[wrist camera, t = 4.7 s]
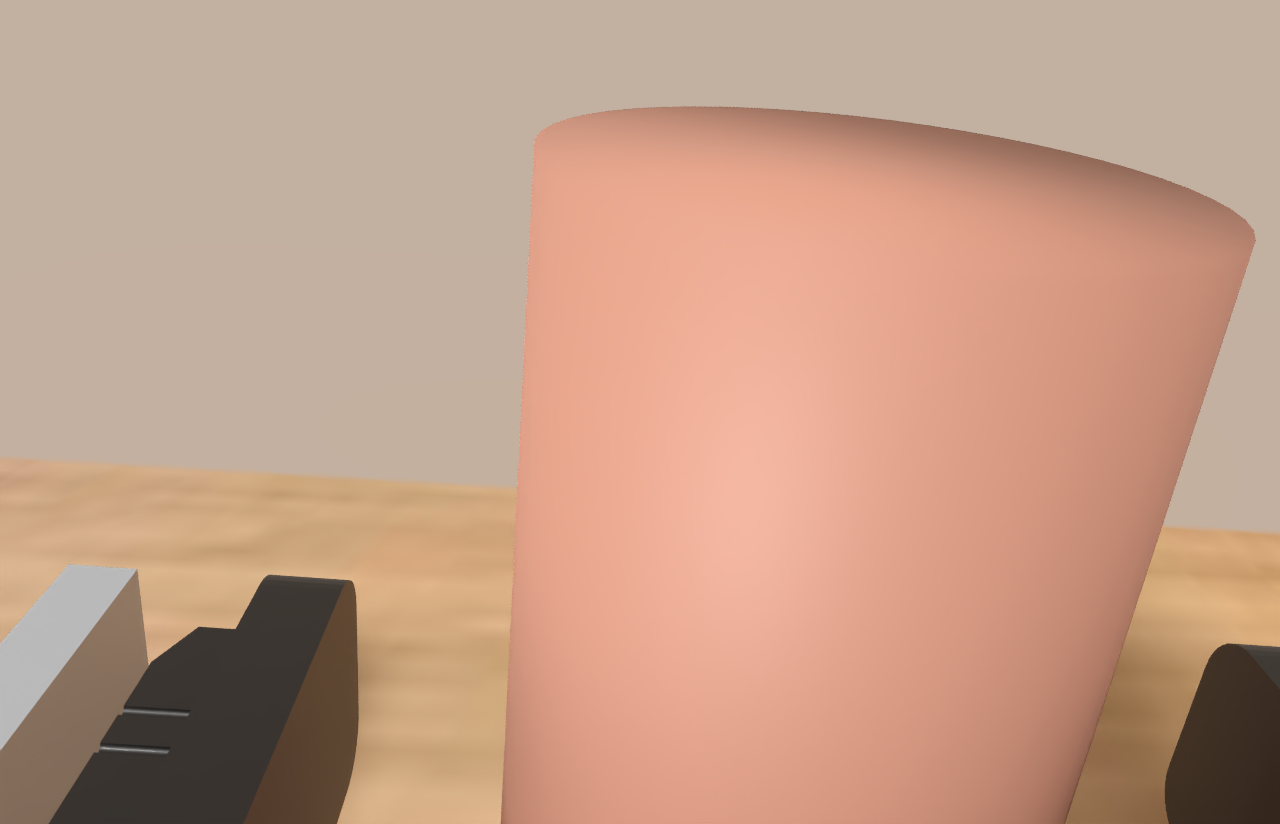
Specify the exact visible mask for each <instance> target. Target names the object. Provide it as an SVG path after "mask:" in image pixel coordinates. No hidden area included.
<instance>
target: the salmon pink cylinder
mask: <svg viewBox="0 0 1280 824" xmlns="http://www.w3.org/2000/svg"><path fill="white" fill-rule="evenodd" d="M1255 241H1256V240H1255V235H1254V230H1253V229H1252V228H1251V226H1250V225H1249V224H1248V223H1247V221H1246V220H1245V219H1243V218H1242V217H1241V216H1239V215H1238V214H1237V213H1235V212H1234V211H1233V210H1231V209H1230V208H1228V207H1226V206H1224V205H1222V204H1221V203H1218V202H1217V201H1215V200H1213V199H1211V198H1209V197H1207V196H1204V195H1202V194H1200V193H1198V192H1195V191H1193V190H1191V189H1189V188H1186V187H1183V186H1181V185H1178V184H1175V183H1172V182H1170V181H1167V180H1164V179H1162V178H1159V177H1155V176H1152V175H1149V174H1146V173H1143V172H1140V171H1137V170H1134V169H1130V168H1127V167H1123V166H1120V165H1116V164H1112V163H1109V162H1105V161H1102V160H1098V159H1094V158H1090V157H1086V156H1082V155H1078V154H1074V153H1070V152H1066V151H1061V150H1056V149H1052V148H1048V147H1044V146H1039V145H1034V144H1030V143H1025V142H1020V141H1015V140H1009V139H1004V138H1000V137H993V136H989V135H983V134H977V133H971V132H966V131H960V130H954V129H948V128H941V127H935V126H929V125H921V124H914V123H907V122H899V121H893V120H883V119H875V118H867V117H859V116H849V115H840V114H830V113H819V112H806V111H793V110H778V109H762V108H739V107H656V108H655V107H654V108H636V109H624V110H614V111H605V112H599V113H592V114H586V115H582V116H578V117H573V118H569V119H566V120H563V121H560V122H557V123H554V124H552V125H550V126H549V127H547V128H545V129H544V130H542V131H541V132H540V133H539V134H538V135H537V137H536V138H535V144H534V165H533V184H532V204H531V223H530V245H529V265H528V285H527V306H526V325H525V326H526V327H525V345H524V366H523V386H522V406H521V407H522V408H521V426H520V447H519V468H518V487H517V507H516V528H515V548H514V568H513V588H512V609H511V629H510V649H509V669H508V690H507V710H506V730H505V751H504V771H503V791H502V811H501V824H1065V821H1066V818H1067V815H1068V812H1069V809H1070V806H1071V803H1072V800H1073V797H1074V794H1075V791H1076V788H1077V784H1078V781H1079V778H1080V775H1081V772H1082V769H1083V766H1084V763H1085V760H1086V757H1087V754H1088V751H1089V748H1090V745H1091V742H1092V739H1093V736H1094V733H1095V730H1096V726H1097V723H1098V720H1099V717H1100V714H1101V711H1102V708H1103V705H1104V702H1105V699H1106V696H1107V693H1108V690H1109V687H1110V684H1111V681H1112V678H1113V675H1114V672H1115V668H1116V665H1117V662H1118V659H1119V656H1120V653H1121V650H1122V647H1123V644H1124V641H1125V638H1126V635H1127V632H1128V629H1129V626H1130V623H1131V620H1132V617H1133V614H1134V610H1135V607H1136V604H1137V601H1138V598H1139V595H1140V592H1141V589H1142V586H1143V583H1144V580H1145V577H1146V574H1147V571H1148V568H1149V565H1150V562H1151V559H1152V556H1153V552H1154V549H1155V546H1156V543H1157V540H1158V537H1159V534H1160V531H1161V528H1162V525H1163V522H1164V518H1165V516H1166V513H1167V510H1168V507H1169V504H1170V500H1171V497H1172V494H1173V491H1174V488H1175V485H1176V482H1177V479H1178V476H1179V473H1180V470H1181V467H1182V464H1183V461H1184V458H1185V455H1186V452H1187V448H1188V446H1189V443H1190V440H1191V436H1192V433H1193V430H1194V427H1195V424H1196V421H1197V418H1198V415H1199V412H1200V409H1201V406H1202V403H1203V400H1204V397H1205V394H1206V391H1207V388H1208V384H1209V381H1210V378H1211V375H1212V372H1213V369H1214V366H1215V363H1216V360H1217V357H1218V354H1219V351H1220V348H1221V345H1222V342H1223V339H1224V335H1225V332H1226V330H1227V326H1228V323H1229V320H1230V317H1231V314H1232V311H1233V308H1234V305H1235V302H1236V299H1237V296H1238V293H1239V290H1240V287H1241V284H1242V280H1243V278H1244V275H1245V272H1246V268H1247V265H1248V262H1249V259H1250V256H1251V253H1252V250H1253V247H1254V244H1255Z"/></svg>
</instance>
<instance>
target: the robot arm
mask: <svg viewBox="0 0 1280 824" xmlns="http://www.w3.org/2000/svg"><path fill="white" fill-rule="evenodd" d="M357 735H358V663H357V612H356V593H355V588H354V585H353V582H352V581H350V580H338V579H323V578H309V577H294V576H280V575H268V576H266V577H265V578H264V579H263V581H262V582H261V584H260V585H259V587H258V589H257V591H256V593H255V595H254V596H253V598H252V600H251V602H250V604H249V606H248V607H247V609H246V611H245V613H244V615H243V616H242V618H241V620H240V622H239V624H238V626H237V627H236V629H223V628H208V627H198V628H197V629H195V630H194V631H193V632H191V633H190V634H189V635H187V636H186V637H185V638H183V639H182V640H180V641H179V642H178V643H176V644H175V645H174V646H172V647H171V648H170V649H168V650H167V651H166V652H164V653H163V654H162V655H160V656H159V657H158V658H156V659H155V660H153V661H152V662H151V663H150V665H149V667H148V668H147V670H146V671H145V673H144V674H143V676H142V678H141V679H140V681H139V682H138V684H137V685H136V687H135V689H134V690H133V692H132V693H131V695H130V696H129V698H128V700H127V701H126V703H125V704H124V709H123V713H122V715H117V717H116V718H115V720H114V722H113V723H112V725H111V726H110V728H109V729H108V731H107V733H106V734H105V736H104V737H103V739H102V740H101V742H100V749H99V752H98V753H97V752H94V753H93V755H92V756H91V758H90V759H89V761H88V762H87V764H86V766H85V767H84V769H83V770H82V772H81V773H80V775H79V777H78V778H77V780H76V781H75V783H74V784H73V786H72V788H71V789H70V791H69V792H68V794H67V795H66V797H65V799H64V800H63V802H62V803H61V805H60V806H59V808H58V810H57V811H56V813H55V814H54V816H53V817H52V819H51V821H50V822H49V824H337V821H338V818H339V815H340V812H341V809H342V806H343V802H344V799H345V796H346V793H347V790H348V786H349V783H350V779H351V775H352V770H353V765H354V759H355V752H356V745H357ZM1165 804H1166V812H1167V817H1168V821H1169V824H1280V647H1272V646H1257V645H1243V644H1225V645H1222V646H1221V647H1219V648H1217V649H1216V650H1215V651H1214V652H1213V654H1212V655H1211V657H1210V658H1209V660H1208V663H1207V665H1206V667H1205V670H1204V673H1203V675H1202V678H1201V681H1200V684H1199V686H1198V689H1197V692H1196V694H1195V697H1194V700H1193V702H1192V705H1191V708H1190V711H1189V713H1188V716H1187V719H1186V721H1185V724H1184V727H1183V730H1182V732H1181V735H1180V738H1179V740H1178V743H1177V746H1176V749H1175V751H1174V754H1173V757H1172V759H1171V762H1170V765H1169V768H1168V771H1167V776H1166V781H1165Z"/></svg>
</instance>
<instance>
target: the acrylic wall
mask: <svg viewBox="0 0 1280 824" xmlns="http://www.w3.org/2000/svg"><path fill="white" fill-rule="evenodd" d="M148 667H149V666H148V658H147V649H146V640H145V632H144V623H143V614H142V606H141V597H140V589H139V580H138V571H137V569H127V568H113V567H99V566H85V565H71V564H69V565H68V566H67V567H66V568H65V569H64V571H63V572H62V573H61V574H60V575H59V576H58V578H57V579H56V580H55V581H54V582H53V583H52V584H51V586H50V587H49V588H48V589H47V590H46V591H45V593H44V594H43V595H42V596H41V597H40V598H39V599H38V601H37V602H36V603H35V604H34V605H33V606H32V608H31V609H30V610H29V611H28V612H27V613H26V614H25V616H24V617H23V618H22V619H21V620H20V621H19V623H18V624H17V625H16V626H15V627H14V628H13V629H12V631H11V632H10V633H9V634H8V635H7V636H6V638H5V639H4V640H3V641H2V642H1V643H0V824H49V822H50V821H51V819H52V817H53V816H54V814H55V813H56V811H57V810H58V808H59V806H60V805H61V803H62V802H63V800H64V799H65V797H66V795H67V794H68V792H69V791H70V789H71V788H72V786H73V784H74V783H75V781H76V780H77V778H78V777H79V775H80V773H81V772H82V770H83V769H84V767H85V766H86V764H87V762H88V761H89V759H90V758H91V756H92V755H93V753H94V752H97V753H98V752H99V749H100V742H101V740H102V739H103V737H104V736H105V734H106V733H107V731H108V729H109V728H110V726H111V725H112V723H113V722H114V720H115V718H116V717H117V715H122V713H123V709H124V704H125V703H126V701H127V700H128V698H129V696H130V695H131V693H132V692H133V690H134V689H135V687H136V685H137V684H138V682H139V681H140V679H141V678H142V676H143V674H144V673H145V671H146V670H147V668H148Z"/></svg>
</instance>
